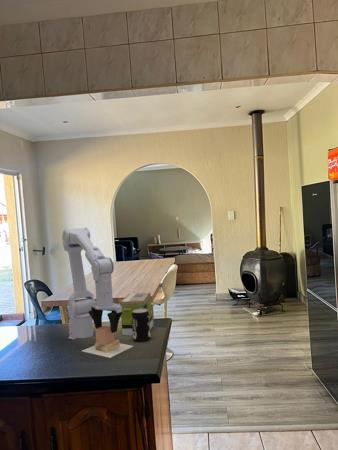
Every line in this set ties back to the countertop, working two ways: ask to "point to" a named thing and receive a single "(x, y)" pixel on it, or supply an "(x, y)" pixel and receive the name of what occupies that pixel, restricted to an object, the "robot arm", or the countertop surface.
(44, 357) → the countertop surface
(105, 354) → the build plate
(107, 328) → the top brick
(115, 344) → the bottom brick
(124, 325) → the tea box
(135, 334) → the beverage can
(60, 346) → the countertop surface
